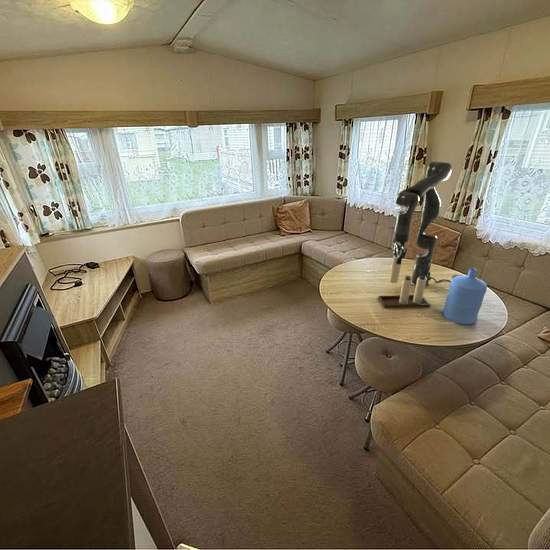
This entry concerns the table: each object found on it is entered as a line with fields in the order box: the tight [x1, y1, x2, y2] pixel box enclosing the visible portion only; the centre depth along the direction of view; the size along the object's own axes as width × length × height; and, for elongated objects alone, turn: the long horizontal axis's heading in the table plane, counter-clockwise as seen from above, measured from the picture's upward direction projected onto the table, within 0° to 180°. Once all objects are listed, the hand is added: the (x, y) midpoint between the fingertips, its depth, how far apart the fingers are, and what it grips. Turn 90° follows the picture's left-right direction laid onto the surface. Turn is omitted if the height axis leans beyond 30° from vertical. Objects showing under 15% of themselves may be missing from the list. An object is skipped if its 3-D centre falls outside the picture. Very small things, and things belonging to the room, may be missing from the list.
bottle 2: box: [413, 275, 427, 304], centre depth 169 cm, size 5×5×16 cm
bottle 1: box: [399, 275, 412, 304], centre depth 169 cm, size 5×5×16 cm
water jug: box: [442, 267, 488, 325], centre depth 153 cm, size 16×16×28 cm
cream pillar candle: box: [388, 253, 402, 284], centre depth 163 cm, size 5×5×16 cm
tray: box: [377, 294, 431, 309], centre depth 172 cm, size 26×11×2 cm, turn 90°
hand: (396, 261), depth 161 cm, fingers closed on cream pillar candle, 4 cm apart
